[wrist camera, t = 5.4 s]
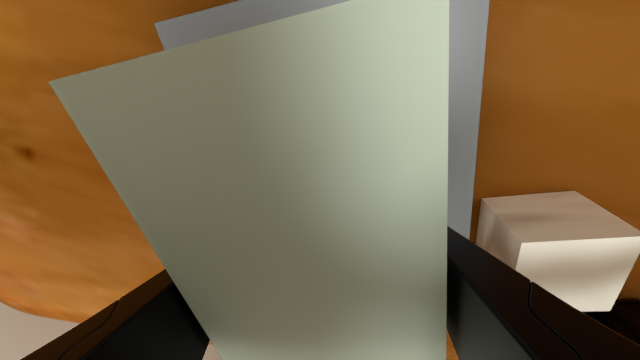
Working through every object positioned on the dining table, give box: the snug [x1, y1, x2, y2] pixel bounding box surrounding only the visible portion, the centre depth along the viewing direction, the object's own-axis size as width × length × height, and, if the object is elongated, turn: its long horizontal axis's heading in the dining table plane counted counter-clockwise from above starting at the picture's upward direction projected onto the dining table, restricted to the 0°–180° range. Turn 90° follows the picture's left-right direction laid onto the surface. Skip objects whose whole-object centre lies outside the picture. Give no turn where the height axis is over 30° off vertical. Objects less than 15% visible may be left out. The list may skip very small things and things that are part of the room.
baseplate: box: [154, 0, 489, 240], centre depth 17 cm, size 18×18×1 cm
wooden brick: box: [49, 0, 449, 360], centre depth 8 cm, size 12×6×4 cm, turn 12°
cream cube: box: [476, 191, 640, 312], centre depth 17 cm, size 6×6×5 cm
